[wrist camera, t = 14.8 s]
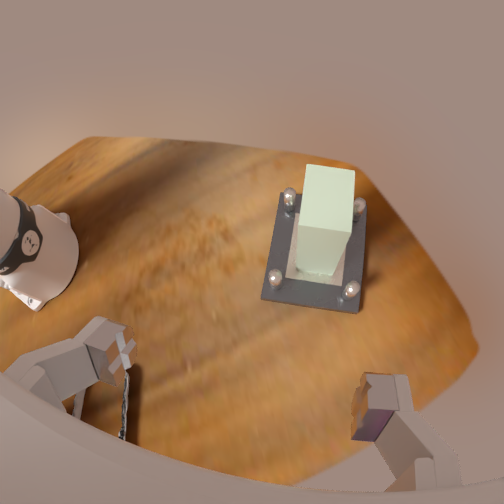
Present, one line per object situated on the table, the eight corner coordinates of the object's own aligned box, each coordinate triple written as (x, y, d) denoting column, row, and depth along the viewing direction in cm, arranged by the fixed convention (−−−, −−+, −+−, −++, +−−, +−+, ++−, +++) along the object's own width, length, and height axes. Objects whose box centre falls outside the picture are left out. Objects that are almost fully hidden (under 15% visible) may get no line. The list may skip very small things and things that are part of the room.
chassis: (261, 299, 43) (257, 290, 38) (280, 196, 48) (279, 177, 43) (356, 314, 40) (365, 306, 36) (365, 208, 46) (372, 190, 41)
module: (295, 269, 42) (297, 224, 29) (302, 222, 44) (306, 163, 31) (332, 275, 41) (352, 232, 28) (338, 227, 43) (355, 170, 30)
